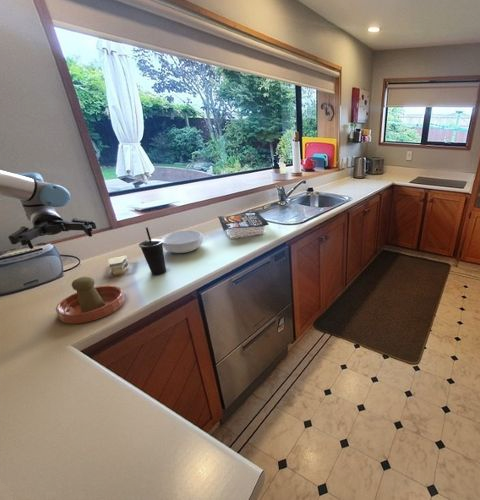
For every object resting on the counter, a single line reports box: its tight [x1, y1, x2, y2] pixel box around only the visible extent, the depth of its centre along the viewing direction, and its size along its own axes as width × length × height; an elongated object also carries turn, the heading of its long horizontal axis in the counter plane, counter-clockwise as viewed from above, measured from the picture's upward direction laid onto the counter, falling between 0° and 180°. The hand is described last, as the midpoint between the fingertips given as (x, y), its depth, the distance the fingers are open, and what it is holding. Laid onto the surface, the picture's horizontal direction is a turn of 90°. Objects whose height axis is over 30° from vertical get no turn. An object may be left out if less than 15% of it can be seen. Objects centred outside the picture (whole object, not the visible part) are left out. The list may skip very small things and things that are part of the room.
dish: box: [55, 285, 126, 325], centre depth 91 cm, size 16×16×4 cm
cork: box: [71, 276, 105, 313], centre depth 89 cm, size 6×6×11 cm
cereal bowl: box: [160, 230, 204, 254], centre depth 133 cm, size 17×17×7 cm
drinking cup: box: [138, 226, 167, 276], centre depth 110 cm, size 8×8×20 cm
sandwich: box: [107, 255, 130, 276], centre depth 113 cm, size 10×9×6 cm
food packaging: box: [217, 211, 270, 240], centre depth 157 cm, size 25×8×23 cm
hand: (61, 238), depth 87 cm, fingers open, 13 cm apart
